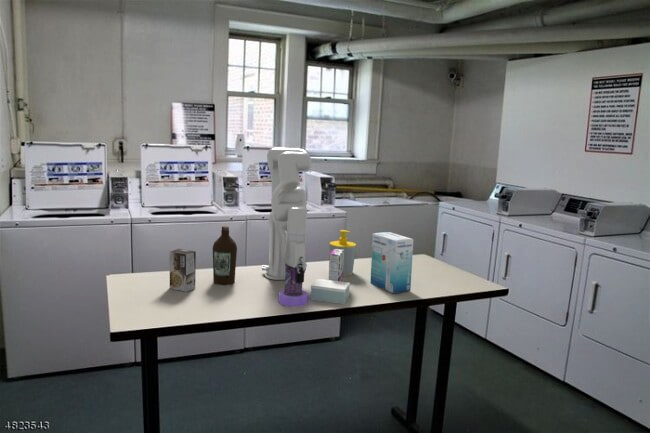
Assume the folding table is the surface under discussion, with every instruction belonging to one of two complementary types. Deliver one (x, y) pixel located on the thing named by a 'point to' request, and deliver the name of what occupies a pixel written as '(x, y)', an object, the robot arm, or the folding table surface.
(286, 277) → the beverage can
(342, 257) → the candy bar box
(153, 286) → the folding table surface
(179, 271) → the coffee box
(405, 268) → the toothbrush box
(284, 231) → the robot arm
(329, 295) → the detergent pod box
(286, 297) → the masking tape
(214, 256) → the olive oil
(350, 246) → the soap bottle
